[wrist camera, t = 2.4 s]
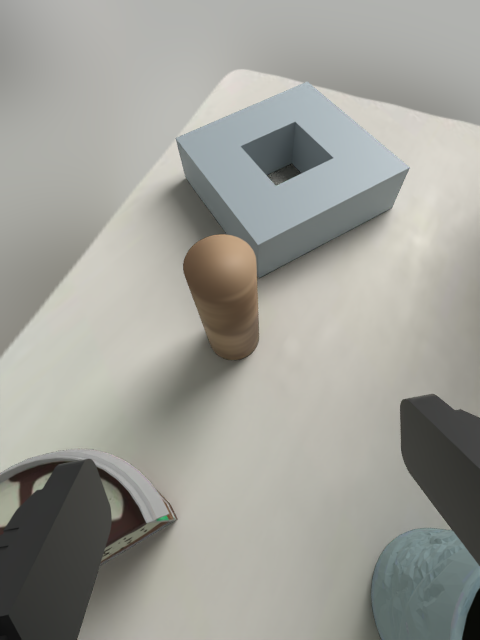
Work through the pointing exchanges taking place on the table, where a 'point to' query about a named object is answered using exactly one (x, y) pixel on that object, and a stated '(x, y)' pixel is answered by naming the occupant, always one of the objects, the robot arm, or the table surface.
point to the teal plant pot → (426, 588)
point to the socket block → (298, 192)
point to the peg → (225, 293)
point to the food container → (119, 484)
